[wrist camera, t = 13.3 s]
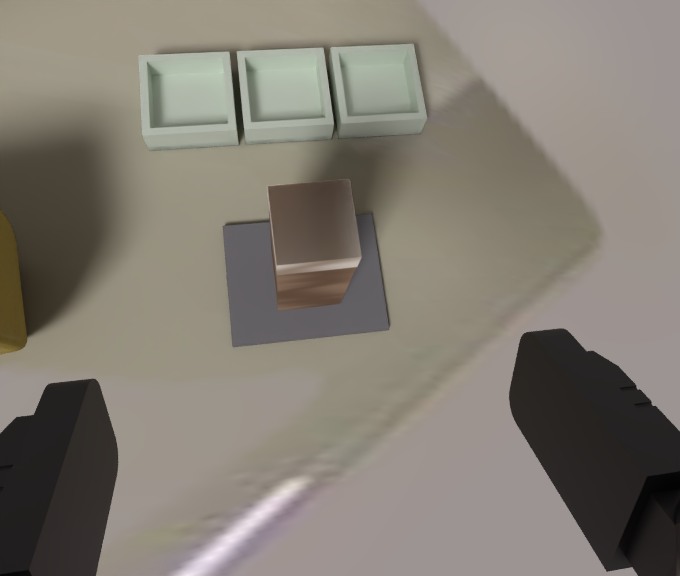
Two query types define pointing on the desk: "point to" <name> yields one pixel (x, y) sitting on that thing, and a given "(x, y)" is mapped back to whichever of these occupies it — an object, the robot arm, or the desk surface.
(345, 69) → the tray
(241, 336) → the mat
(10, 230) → the flower pot
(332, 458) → the desk surface
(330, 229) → the brown wooden block
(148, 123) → the tray
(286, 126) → the tray
